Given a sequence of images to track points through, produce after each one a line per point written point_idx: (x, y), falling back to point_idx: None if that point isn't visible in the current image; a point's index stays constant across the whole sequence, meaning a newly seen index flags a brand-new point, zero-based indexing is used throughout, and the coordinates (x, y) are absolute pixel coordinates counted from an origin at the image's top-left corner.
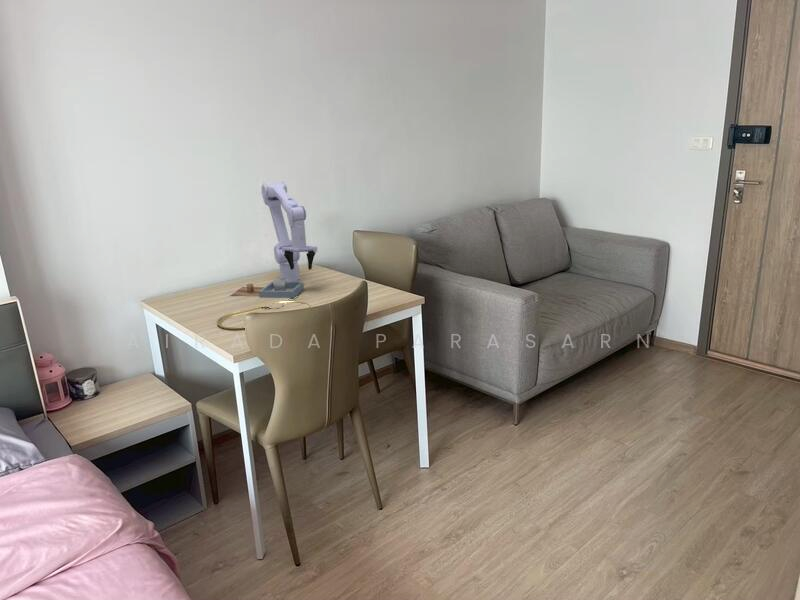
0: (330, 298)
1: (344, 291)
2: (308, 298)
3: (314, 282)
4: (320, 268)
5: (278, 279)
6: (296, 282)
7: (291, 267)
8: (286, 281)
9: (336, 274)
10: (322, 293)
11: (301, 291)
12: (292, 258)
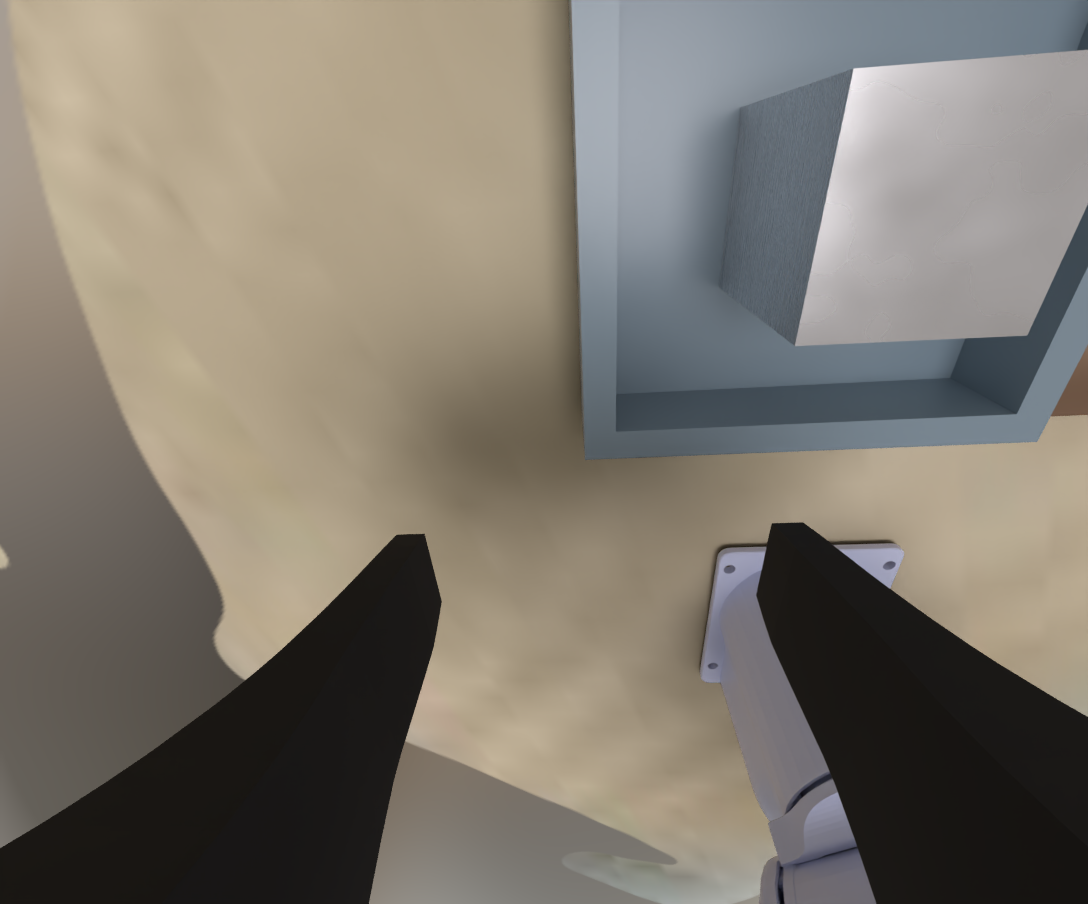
0: (79, 97)
1: (141, 405)
2: (372, 55)
3: (571, 621)
4: (641, 835)
5: (1006, 199)
6: (671, 441)
7: (806, 545)
8: (803, 213)
9: (486, 760)
10: (320, 315)
11: (579, 333)
12: (875, 820)
